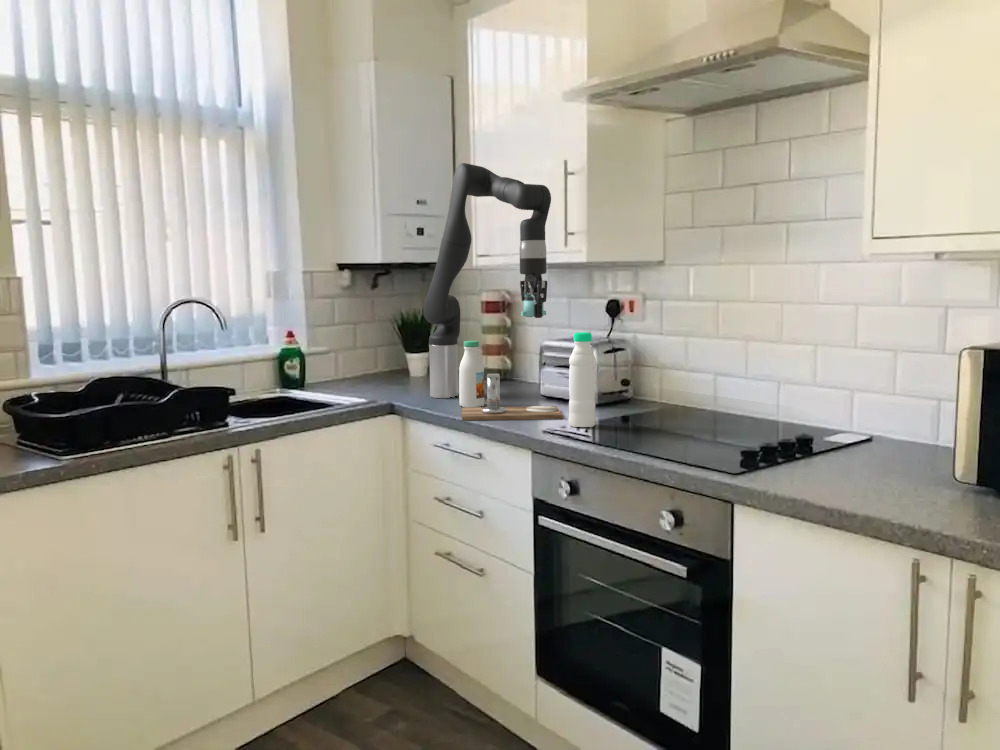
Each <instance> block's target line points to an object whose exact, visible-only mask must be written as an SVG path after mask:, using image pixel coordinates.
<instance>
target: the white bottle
mask: <svg viewBox="0 0 1000 750" xmlns="http://www.w3.org/2000/svg"><path fill="white" fill-rule="evenodd" d="M572 338H573V341H574V342H573V343H574V345H575V346H574V347H573V349H572V353H571V354H570V356H569V359H568V364H569V369H568V370H569V371H568V393H569V395H568V396H569V401H568V410H569V411H568V425H569V426H570V427H571V426H572V427H571V428H575V427H590V428H593V427H594V426H595V425H596V412H595V411H596V400H595V399H596V383H597V382H596V380H597V379H596V362H597V361H596V356H595V355H594V352H593V349H592V347H591V343H592V339H593V337H592V333H590V332H585V331H584V332H583V331H582V332H581V331H580V332H575V333H573V337H572Z"/></svg>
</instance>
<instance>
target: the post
mask: <svg viewBox="0 0 1000 750" xmlns="http://www.w3.org/2000/svg"><path fill="white" fill-rule="evenodd" d="M500 378H501V376H500V373H487V374H486V391H487V392H486V397H487V398H486V402H487V403H486V404H487V405H486V406H482V407H483V408H481V412H482V413H484V414H502V413H505V412H506V408H505V407H506V406H501V387H500V385H501V383H500V382H501V381H500V380H501V379H500Z"/></svg>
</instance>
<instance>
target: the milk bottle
mask: <svg viewBox="0 0 1000 750" xmlns="http://www.w3.org/2000/svg"><path fill="white" fill-rule="evenodd" d="M479 346H480V341H478V340H465V341H463V349H464V353H463V356H462V359H461V360H460V363H459V367H458V400H459V403H458V404H459V406H460V407H461V406H462V407H481V406H482V407H485V367H484V363H483V361H482V359H481V357H480V353H479ZM462 407H461V408H462Z"/></svg>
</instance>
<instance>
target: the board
mask: <svg viewBox="0 0 1000 750" xmlns="http://www.w3.org/2000/svg"><path fill="white" fill-rule="evenodd" d="M483 407H484V406H482V407H461V421H463V422H464V421H465V422H466V421H510V420H511V421H516V420H517V421H520V420H525V421H527V420H533V421H534V420H563V414H562V412H561V410H560V408H558V406H557V405H533V406H532V405H531V406H530V405H529V406H528V405H527V406H504V407H505V408H506V412H505V413H502V414H484V413H482V412H481V408H483Z"/></svg>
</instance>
